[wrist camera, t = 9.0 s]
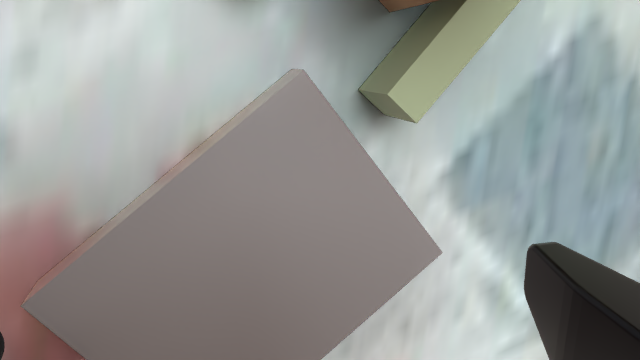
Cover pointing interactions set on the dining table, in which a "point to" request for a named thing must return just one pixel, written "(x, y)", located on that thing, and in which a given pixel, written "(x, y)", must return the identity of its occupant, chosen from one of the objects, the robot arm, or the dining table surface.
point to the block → (432, 55)
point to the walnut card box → (402, 4)
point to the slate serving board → (243, 246)
